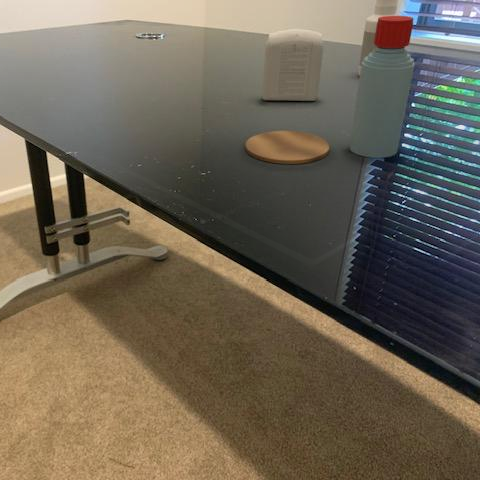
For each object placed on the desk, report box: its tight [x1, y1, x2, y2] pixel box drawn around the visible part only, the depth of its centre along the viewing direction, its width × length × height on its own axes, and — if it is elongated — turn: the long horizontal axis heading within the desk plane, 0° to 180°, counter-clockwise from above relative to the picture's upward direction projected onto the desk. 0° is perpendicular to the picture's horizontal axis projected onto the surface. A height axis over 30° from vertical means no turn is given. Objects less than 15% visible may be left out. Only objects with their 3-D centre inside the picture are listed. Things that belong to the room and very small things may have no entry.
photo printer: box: [261, 28, 324, 102], centre depth 92 cm, size 10×4×12 cm, turn 78°
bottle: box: [348, 46, 416, 159], centre depth 68 cm, size 6×6×17 cm
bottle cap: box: [374, 15, 415, 48], centre depth 64 cm, size 4×4×3 cm
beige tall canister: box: [357, 0, 399, 77], centre depth 102 cm, size 7×7×18 cm
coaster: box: [244, 130, 330, 165], centre depth 74 cm, size 12×12×1 cm
